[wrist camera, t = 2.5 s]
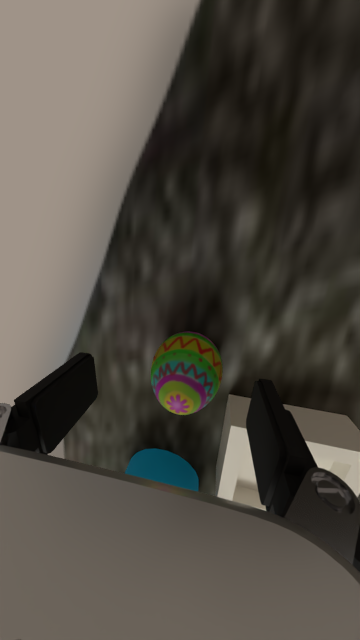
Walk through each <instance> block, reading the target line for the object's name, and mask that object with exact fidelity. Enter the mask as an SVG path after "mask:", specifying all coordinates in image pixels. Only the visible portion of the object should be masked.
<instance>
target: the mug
mask: <svg viewBox="0 0 360 640" xmlns="http://www.w3.org/2000/svg"><path fill="white" fill-rule="evenodd" d="M125 474H129V475H133V476H137V477H141V478H145V479H149V480H153V481H157V482H161V483H165V484H169V485H173V486H177V487H181V488H185V489H189V490H193V491H197V492H198V486H199V479H198V476H197V474H196V471H195V470H194V469H193V468H192V466H191V465H190V464H189V463H188V462H187V461H185V460H184V459H183V458H181V457H180V456H178V455H176V454H174V453H172V452H169V451H166V450H161V449H156V448H155V449H144V450H142V451H139V452H137V453H136V454H135V455H134V456H133V457H132V458H131V460H130V462H129V465H128V467H127V469H126V471H125Z"/></svg>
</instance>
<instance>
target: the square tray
mask: <svg viewBox="0 0 360 640" xmlns="http://www.w3.org/2000/svg"><path fill="white" fill-rule="evenodd" d="M250 401H251V398H247V397H241V396H236V395H230V394H229V396H228V401H227V407H226V413H225V418H224V424H223V430H222V435H221V441H220V447H219V453H218V458H217V464H216V497H220V498H224V499H228V500H231V501H235V502H239V503H242V504H246V505H249V506H252V507H256V508H259V509H262V510H265V511H266V507H265V506H264V505H262V504H261V502H260V498H259V492H258V487H257V482H256V476H255V471H254V466H253V461H252V455H251V450H250V445H249V439H248V434H247V429H246V418H247V414H248V410H249V405H250ZM283 406H284V408H285V410H289V411H290V412H291V414H292V415H293V417H294V419H295V421H296V423H297V425H298V427H299V430H300V432H301V434H302V436H303V438H304V440H305V442H306V444H307V446H308V448H309V450H310V452H311V454H312V456H313V458H314V460H315V462H316V464H317V466H318V468H323V469H326V470H328V471H330V472H332V473H334V474H335V475H337V476H338V477H339V478H341V479H342V480H343V481H344V482H345V483H346V484H347V485H348V486H349V487H350V488H351V489H352V490H353V492H354V493H355V495H356V496H357V497H358V495H359V493H360V431H359V429H358V428H357V427H356V426H355V425H354V423H353V422H352V421H351V420H350V418H349V417H348V416H347V415H341V414H336V413H330V412H325V411H319V410H313V409H308V408H302V407H297V406H291V405H286V404H283Z"/></svg>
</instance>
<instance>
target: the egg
mask: <svg viewBox="0 0 360 640" xmlns="http://www.w3.org/2000/svg"><path fill="white" fill-rule="evenodd" d="M221 379H222V360H221V356H220V354H219V351H218V349H217V348H216V346H215V345H214V344H213V342H212V341H211V340H210V339H208V338H207V337H206V336H204V335H202V334H200V333H196V332H190V331H186V332H180V333H177V334H174V335H172V336H171V337H169V338H168V339H166V340H165V341H164V342H163V343H162V344H161V346H160V347H159V349H158V350H157V352H156V354H155V356H154V359H153V362H152V368H151V382H152V387H153V391H154V393H155V395H156V397H157V399H158V401H159V402H160V403H161V405H162V406H163V407H164V408H165V409H167V410H168V411H170V412H172V413H175V414H179V415H187V414H192V413H195V412H197V411H199V410H201V409H202V408H204V407H205V406H206V405H207V404H208V403H209V402H210V401H211V400H212V399H213V397H214V396H215V394H216V392H217V391H218V388H219V386H220V383H221Z"/></svg>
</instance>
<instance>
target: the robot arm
mask: <svg viewBox="0 0 360 640" xmlns="http://www.w3.org/2000/svg"><path fill="white" fill-rule="evenodd" d="M97 395H98V390H97V381H96V373H95V364H94V358H93V357H92V355H91V354H88V353H79V354H77V355H76V356H74V357H73V358H72V359H70V360H69V361H67V362H66V363H65V364H63V365H62V366H60V367H59V368H58V369H56V370H55V371H54V372H52V373H51V374H49V375H48V376H47V377H45V378H44V379H42V380H41V381H40V382H38V383H37V384H35V385H34V386H33V387H31V388H30V389H29V390H27V391H26V392H25V393H23V394H22V395H20V396H19V397H17V398H16V399H15V400H14V402H15V405H14V406H13V407H11V406H10V405H9V404H5V403H0V640H360V502H359V500H358V498H357V496H356V495H355V493H354V492H353V490H352V489H351V488H350V487H349V486H348V485H347V484H346V483H345V482H344V481H343V480H342V479H341V478H339V477H338V476H337V475H335V474H334V473H332V472H330V471H328V470H326V469H323V468H318V466H317V464H316V462H315V460H314V458H313V456H312V454H311V452H310V450H309V448H308V446H307V444H306V442H305V440H304V438H303V436H302V434H301V432H300V430H299V427H298V425H297V423H296V421H295V419H294V417H293V415H292V414H291V412H290V411H289V410H285V408H284V406H283V404H282V402H281V399H280V397H279V395H278V393H277V391H276V389H275V386H274V384H273V382H272V381H271V380H264V379H259V381H255V384H254V388H253V392H252V397H251V401H250V405H249V410H248V414H247V418H246V429H247V434H248V439H249V445H250V450H251V455H252V461H253V466H254V471H255V476H256V482H257V487H258V492H259V498H260V502H261V504H262V505H264V506H265V507H266V511H265V510H262V509H259V508H256V507H252V506H249V505H246V504H242V503H239V502H235V501H231V500H228V499H224V498H220V497H216V496H213V495H209V494H205V493H201V492H197V491H193V490H189V489H185V488H181V487H177V486H173V485H169V484H165V483H161V482H157V481H153V480H149V479H145V478H141V477H137V476H133V475H129V474H125V473H120V472H116V471H112V470H108V469H104V468H100V467H96V466H92V465H87V464H83V463H79V462H75V461H71V460H66V459H62V458H57V457H53V456H49V455H47V454H48V453H51V452H52V451H53V450H54V449H55V448H56V446H57V445H58V444H59V443H60V442H61V440H62V439H63V438H64V437H65V436H66V434H67V433H68V432H69V431H70V430H71V428H72V427H73V426H74V425H75V423H76V422H77V421H78V420H79V419H80V417H81V416H82V415H83V414H84V413H85V411H86V410H87V409H88V408H89V407H90V405H91V404H92V403H93V402H94V400H95V399H96V398H97Z"/></svg>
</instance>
